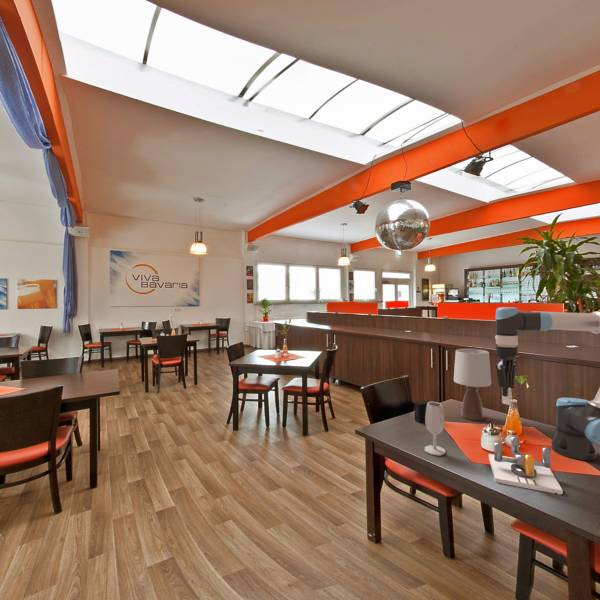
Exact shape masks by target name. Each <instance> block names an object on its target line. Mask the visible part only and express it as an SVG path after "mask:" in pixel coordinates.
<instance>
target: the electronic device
mask: <svg viewBox="0 0 600 600" xmlns="http://www.w3.org/2000/svg"><path fill="white" fill-rule="evenodd" d="M428 402H432V400H421V401H416V402H414V421H416V422H418V423H419V424H421V423H425V413H426V407H427V404H428Z"/></svg>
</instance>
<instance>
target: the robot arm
mask: <svg viewBox="0 0 600 600" xmlns="http://www.w3.org/2000/svg"><path fill="white" fill-rule="evenodd" d="M550 330H558V331H559V330H560V331H575V332H576V331H577V332H578V331H579V332H591V333H592V334H595V335H600V311H593V312H591V313H588V312H587V313H586V312H585V313H584V312H561V311H560V312H559V311H537V310H536V311H535V310H533V311H532V310H519V309H518V308H517V307H514V306H513V307H511V306H510V307H509V306H503V307H502V306H501V307H500V306H499V307H497V308H496V310H495V337H494V339H495V355H497V356H499V357H498V363H496V364H495V369H496V372H497V375H496V376H497V382H498V387H499V388H501V403H502V404H503V405H507V406H510V405H512V389H515V386H514V385H515V378H516V372H517V371H516V369H517V365H518V361H517V360H516V361H515V358H516V357H517V356H518V353H519V352H518V351H519V350H518V349H519V348H518V346H519V345H518V344H519V340H518V339H519V338H518V337H519V335H518V333H519V332H540V333H541V332H547V331H550ZM555 408H556V409H555V410H556V413H555V414H556V417H555V418H556V420H555V422H556V423H555V424H556V425H555V427H556V429H555V430H556V431H555V433H554V436H553V438H552V440H551V443H550V444H551V447H550V448H551V450H553V451H554V452H555V453H556V454H557V453H558V454H559V455H562V456H564V457H567V458H571V459H575V460H581V461H594V460H596V459H597V455H598V453H597V449H596V446H595V444H597V445H599V446H600V387H599V388H598V390H597V393H596V395H595V397H594V398H593V399H592V400H587V399H585V398H584V399H582V398H577V397H576V398H575V397H560V398H558V399H557V400H556V404H555Z"/></svg>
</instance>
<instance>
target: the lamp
mask: <svg viewBox="0 0 600 600" xmlns="http://www.w3.org/2000/svg"><path fill="white" fill-rule="evenodd" d="M454 358H455V359H454V371H453V382H454V383H455V384H458V385H460V386H461V385H462V386H465V388H466V391H465V394H464V396H463V399H462V404H461V412H460V414H461V418H463V419H465V420H469V421H473V422H474V421H476V422H478V421H483V420H484V418H485V417H484V411H483V404H482V400H481V397H480V394H479V392H478V390H479V388H484V387H485V388H486V387H490V386H491V385H492V375H491V363H490V362H491V361H490V352H489V351H487V350H483V349H478V348H457V349H456V350H455V355H454Z"/></svg>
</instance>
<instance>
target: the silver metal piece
mask: <svg viewBox="0 0 600 600" xmlns="http://www.w3.org/2000/svg"><path fill="white" fill-rule="evenodd" d="M510 440H511V441H510V442H511V443H510V444H511V445H510V449H511V450H510V453H511V455H513V456H514V457H512V458H506V457H507V456H505V457H502V456H503V443H502V442H501V441H493V442H494V443H493V446H494V447H493V451H494V452H493V453H494V454H493V455H494V460H495V461H497V462H509V463H515V464H512V465H511V471H512V472H514V473H515V474H517V475H519V476H522V477H527V478H534V477H536V476H537V471H536V470H535V469H534V466H542V467H546V468H550V469H551V467H552V448H551V447H549V446H542V447H541V453H542V454H541V460H542V461H538V460H535V455H533V454H531V453H523V452H520V446H519V445H520V437H519V436H517V435H511V437H510Z"/></svg>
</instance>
